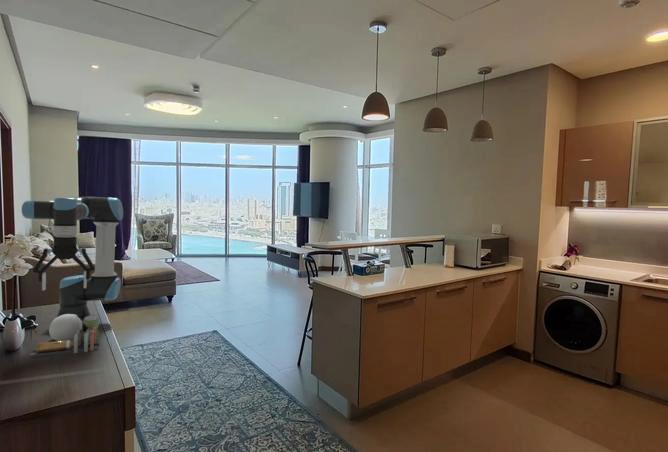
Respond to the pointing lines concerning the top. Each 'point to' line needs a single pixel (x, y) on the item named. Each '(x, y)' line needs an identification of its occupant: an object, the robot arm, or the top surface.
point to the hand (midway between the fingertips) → (65, 288)
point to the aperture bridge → (93, 338)
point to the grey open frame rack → (80, 350)
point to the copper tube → (54, 346)
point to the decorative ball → (65, 327)
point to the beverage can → (91, 325)
